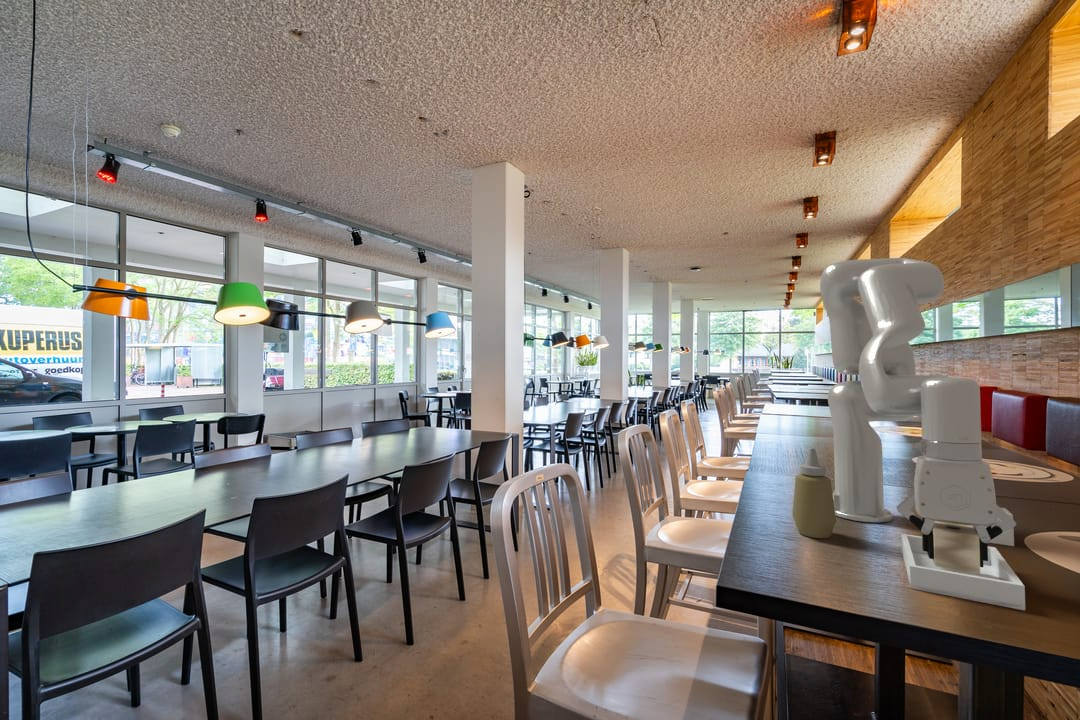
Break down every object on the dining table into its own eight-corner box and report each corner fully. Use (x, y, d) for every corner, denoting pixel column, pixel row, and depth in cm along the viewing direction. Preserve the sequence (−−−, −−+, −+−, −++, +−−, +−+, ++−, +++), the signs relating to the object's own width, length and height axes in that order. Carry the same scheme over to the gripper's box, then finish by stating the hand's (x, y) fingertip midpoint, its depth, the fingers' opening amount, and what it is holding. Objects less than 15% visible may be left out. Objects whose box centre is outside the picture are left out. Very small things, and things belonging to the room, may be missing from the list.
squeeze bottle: (821, 544, 94) (819, 453, 94) (784, 531, 101) (782, 447, 101) (845, 536, 97) (843, 449, 98) (807, 525, 104) (805, 444, 105)
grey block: (975, 541, 94) (974, 510, 94) (970, 532, 99) (969, 503, 99) (1014, 546, 91) (1013, 514, 91) (1006, 537, 95) (1005, 507, 96)
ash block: (935, 566, 78) (934, 529, 78) (930, 554, 82) (929, 519, 82) (980, 573, 74) (979, 535, 75) (973, 561, 79) (971, 525, 79)
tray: (910, 588, 75) (909, 566, 75) (901, 552, 89) (901, 533, 89) (1025, 610, 67) (1024, 586, 68) (995, 567, 82) (995, 547, 82)
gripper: (888, 450, 80) (891, 557, 80) (1030, 460, 71) (1034, 581, 70) (886, 444, 86) (889, 543, 86) (1016, 452, 77) (1019, 563, 77)
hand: (954, 559), depth 78 cm, fingers closed on ash block, 5 cm apart
